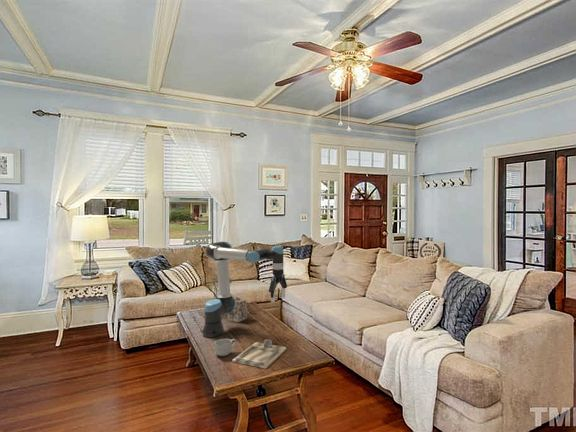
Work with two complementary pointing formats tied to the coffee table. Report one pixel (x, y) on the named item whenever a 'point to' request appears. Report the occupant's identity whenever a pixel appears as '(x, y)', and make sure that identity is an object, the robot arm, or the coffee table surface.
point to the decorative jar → (238, 311)
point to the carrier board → (260, 354)
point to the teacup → (224, 346)
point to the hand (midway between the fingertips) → (278, 299)
